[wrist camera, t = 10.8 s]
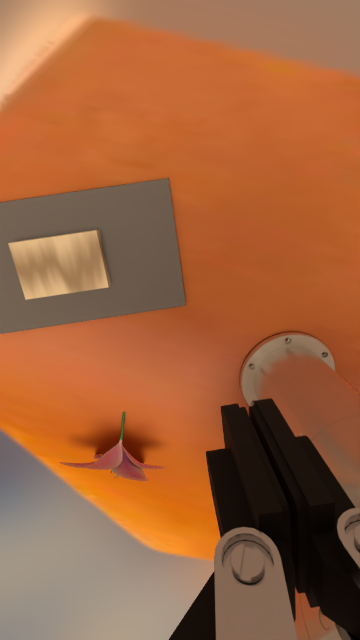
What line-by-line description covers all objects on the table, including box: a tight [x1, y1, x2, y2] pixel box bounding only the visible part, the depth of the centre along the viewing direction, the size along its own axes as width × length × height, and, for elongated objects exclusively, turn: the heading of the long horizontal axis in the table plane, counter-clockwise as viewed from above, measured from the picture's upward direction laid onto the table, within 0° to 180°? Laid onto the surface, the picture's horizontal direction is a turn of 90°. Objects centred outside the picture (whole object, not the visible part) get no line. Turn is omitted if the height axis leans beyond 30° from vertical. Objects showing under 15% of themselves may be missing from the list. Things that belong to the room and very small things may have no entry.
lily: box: [59, 412, 167, 481], centre depth 42 cm, size 12×12×10 cm
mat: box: [0, 178, 186, 334], centre depth 36 cm, size 14×22×1 cm, turn 98°
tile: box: [8, 229, 111, 300], centre depth 35 cm, size 6×2×9 cm
